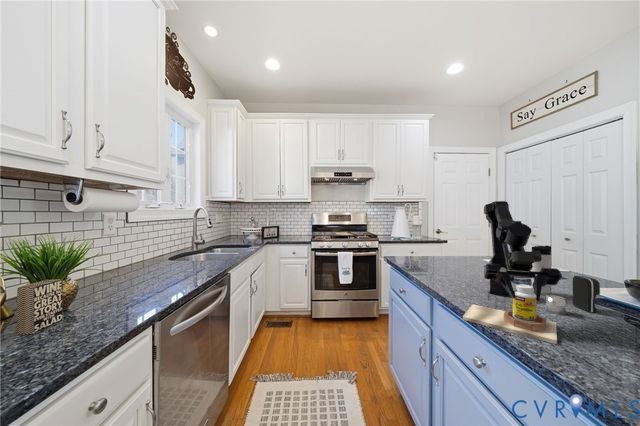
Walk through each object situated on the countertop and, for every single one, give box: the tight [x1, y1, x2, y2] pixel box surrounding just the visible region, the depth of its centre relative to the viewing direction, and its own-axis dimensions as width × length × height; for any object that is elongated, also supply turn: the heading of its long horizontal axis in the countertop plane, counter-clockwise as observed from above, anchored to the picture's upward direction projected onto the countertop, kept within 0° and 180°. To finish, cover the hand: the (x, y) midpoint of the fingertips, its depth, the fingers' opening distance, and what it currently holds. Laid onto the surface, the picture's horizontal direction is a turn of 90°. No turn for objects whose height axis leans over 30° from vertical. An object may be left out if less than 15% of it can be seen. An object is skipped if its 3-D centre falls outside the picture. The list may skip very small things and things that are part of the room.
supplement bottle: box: [512, 283, 538, 323], centre depth 75 cm, size 6×6×10 cm
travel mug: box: [531, 245, 552, 297], centre depth 104 cm, size 6×7×20 cm
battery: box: [572, 275, 601, 313], centre depth 87 cm, size 7×4×11 cm, turn 172°
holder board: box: [462, 303, 558, 345], centre depth 78 cm, size 22×14×3 cm, turn 47°
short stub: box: [545, 294, 567, 316], centre depth 85 cm, size 5×5×5 cm
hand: (525, 299), depth 74 cm, fingers closed on supplement bottle, 5 cm apart
